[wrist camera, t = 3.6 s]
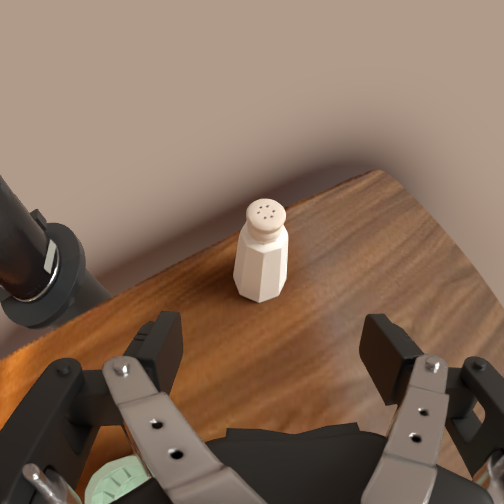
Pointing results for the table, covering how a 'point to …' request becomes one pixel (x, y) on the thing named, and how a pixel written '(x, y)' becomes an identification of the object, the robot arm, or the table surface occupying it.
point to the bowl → (114, 480)
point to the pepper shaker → (262, 252)
